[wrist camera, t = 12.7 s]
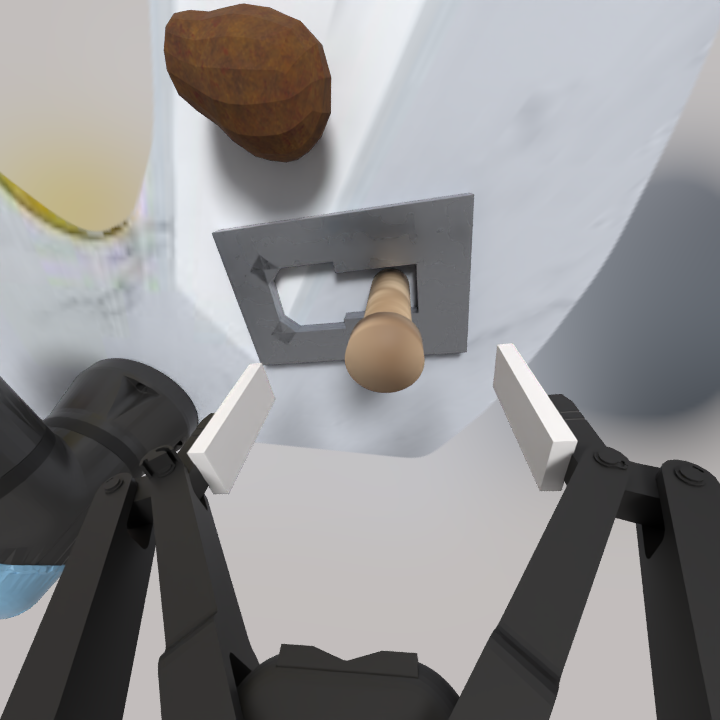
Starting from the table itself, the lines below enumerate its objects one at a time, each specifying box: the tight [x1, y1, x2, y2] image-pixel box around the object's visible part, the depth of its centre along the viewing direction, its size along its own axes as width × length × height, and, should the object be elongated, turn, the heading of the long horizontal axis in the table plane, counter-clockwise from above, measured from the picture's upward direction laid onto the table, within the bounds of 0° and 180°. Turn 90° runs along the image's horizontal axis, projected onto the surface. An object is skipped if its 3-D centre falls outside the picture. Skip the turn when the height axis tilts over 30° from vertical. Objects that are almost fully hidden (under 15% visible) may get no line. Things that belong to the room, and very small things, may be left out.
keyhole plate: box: [212, 193, 474, 365], centre depth 29 cm, size 22×14×2 cm, turn 98°
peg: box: [345, 269, 424, 393], centre depth 24 cm, size 5×5×13 cm
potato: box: [164, 4, 331, 162], centre depth 19 cm, size 7×10×8 cm
